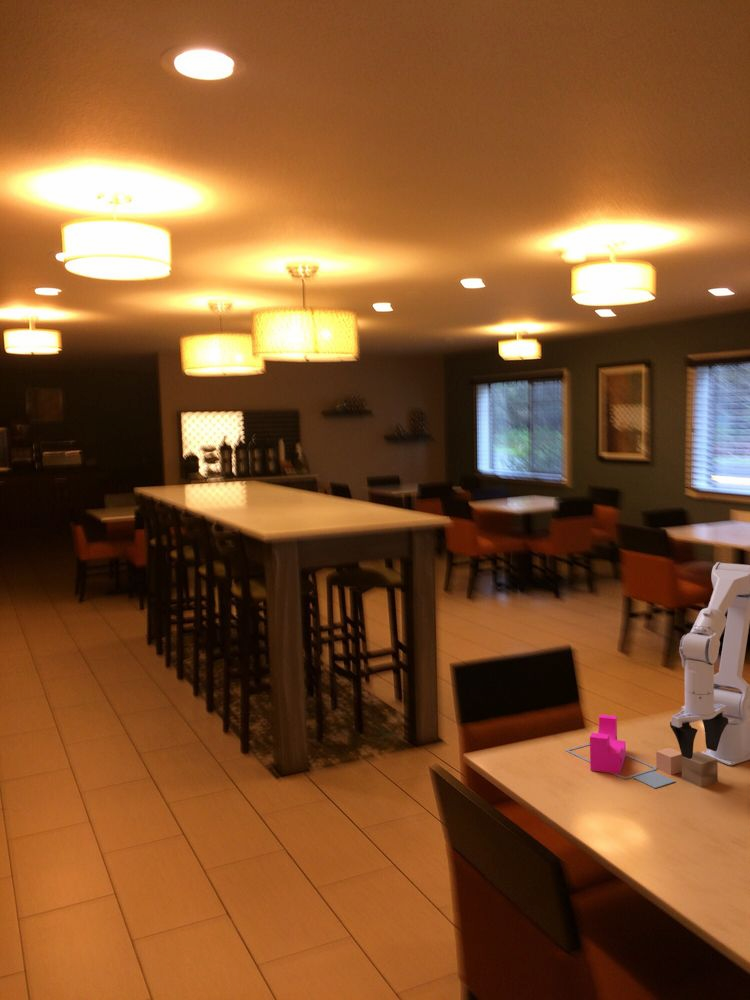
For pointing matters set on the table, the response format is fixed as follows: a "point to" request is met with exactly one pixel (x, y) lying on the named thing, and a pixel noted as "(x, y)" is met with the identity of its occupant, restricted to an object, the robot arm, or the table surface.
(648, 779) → the frame
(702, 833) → the table surface
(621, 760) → the toy block
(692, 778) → the walnut cube
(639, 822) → the table surface
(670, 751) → the terracotta block
